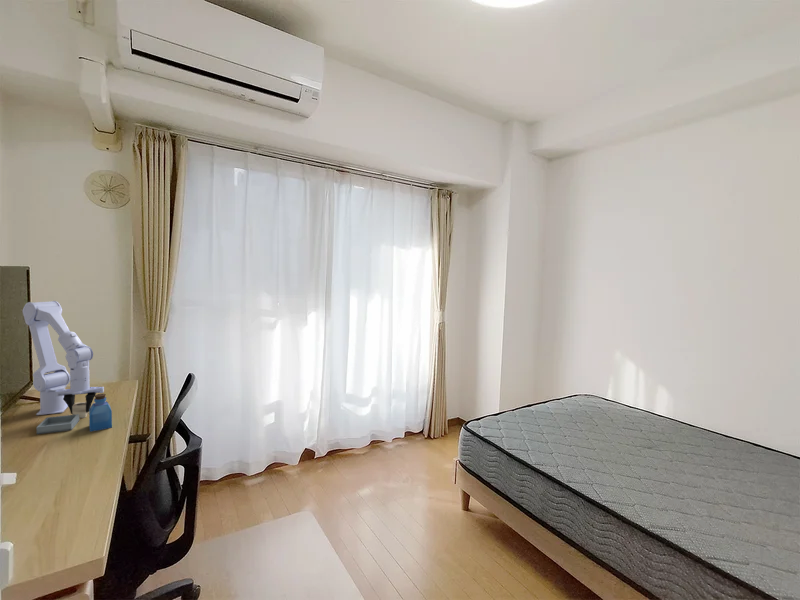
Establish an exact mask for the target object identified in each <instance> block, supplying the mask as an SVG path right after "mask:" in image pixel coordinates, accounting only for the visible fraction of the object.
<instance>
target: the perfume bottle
mask: <svg viewBox="0 0 800 600" xmlns="http://www.w3.org/2000/svg"><path fill="white" fill-rule="evenodd" d="M112 411H113V410H112V408H111V405H110V404H109V402H108V401H107V397H106V393H96V395H95V397H94V399H93V402H92V403H91V407H90V409H89V412H88V415H89V416H88V417H89V420H88V422H89V423H88V425H89V432H95V431H100V430H106V429H107V430H108V429H111V428H113V416H112V415H113V412H112Z"/></svg>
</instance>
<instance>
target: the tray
mask: <svg viewBox="0 0 800 600" xmlns="http://www.w3.org/2000/svg"><path fill="white" fill-rule="evenodd" d="M79 422H80V418H79V414H76V415H72V414H67V415H59V416H49V417H46V418H44V419H43V420H42V421H41V422H40V423H39V424H38V425H37V426H36V435H41V434H42V435H44V434H52V433H59V432H69V431H72V430H73V429H74V428H75V426H76V425H77V424H78V423H79Z"/></svg>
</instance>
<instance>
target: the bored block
mask: <svg viewBox="0 0 800 600" xmlns="http://www.w3.org/2000/svg"><path fill="white" fill-rule="evenodd" d="M76 414H79V419H84V418H86V417H88V415H89V412H86V401H82V402H75V404H74V405H73V406H72V414H71V415H76Z"/></svg>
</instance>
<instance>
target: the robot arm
mask: <svg viewBox="0 0 800 600" xmlns="http://www.w3.org/2000/svg"><path fill="white" fill-rule="evenodd" d="M62 313H63V308H62V306H61V304H60V302H58V301H56V300H51V301H37V302H36V301H35V302H34V301H33V302H31V301H28V302H26V303H25V304H24V306H23V309H22V316H23V319H24V322H25V324H26V325H27V326H28V327H29V331H30V336H31V339H32V342H33V346H34V349H35V353H36V358H37V360H38V361H37V362H38V365H39V367H38V368H37V370H35V371H34V372H33V374H32V378H33V382H32V385H33V387H34V388H35V390H36V391H38V392H39V403H40V404H39V405H40V407H39V409H40V410H39V411H37V413H36V414H35V415H36V416H43V415H53V414H62V413H64V412H65V411H66V410H67V408H68V409H69V412H70V415H72V406H73V405H74V404H75V403H76V402H75V398H76V395H85V397H84V398H85V402H86V412H88V413H89V409H90V408H91V406H92V404H93V402H94V399H95V395H97V394H104V392H105V386H90V384H91V383H90V382H91V381H90V379H91V377H90V376H91V375H90V361H91V360H93V357H94V351H93V349H92V347H90V346H89V345H86V344H85V343H84V342H82V340H81V339H80V337H79V336H78V334H77V333H76V332H75V331H70V328H69V327H68V325H67V323H66V321H65V319H64V317H63V315H62ZM49 325H50V327H52V329H53V330H54V331H55V332H56V334H57V335H58V338H57V341H58V342H59V344H60V345H61V347H62V348H63V350H64V351H65V353H66V354H65V360H66V363H67V366H68V368H69V372H68V370H67V367H66V366H65V365H63V364H60V363H58V359H57V356H56V352H55V349H54V345H53V342H52V338H51V333H50V330H49ZM69 383H70V384H69ZM68 385H70V388H67V386H68ZM66 388H67V389H66Z"/></svg>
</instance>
